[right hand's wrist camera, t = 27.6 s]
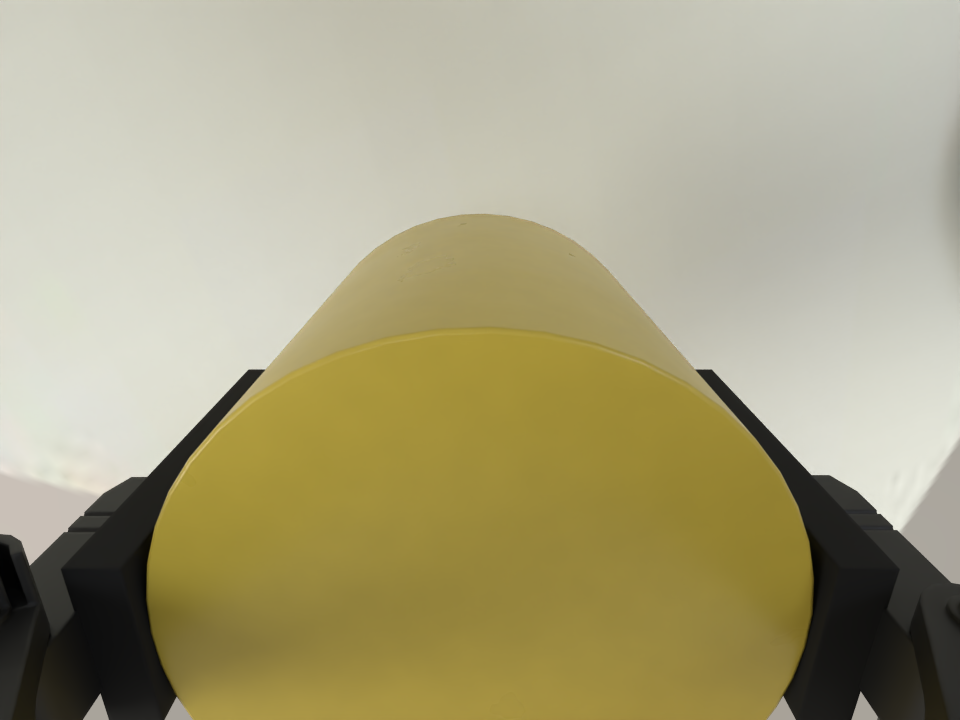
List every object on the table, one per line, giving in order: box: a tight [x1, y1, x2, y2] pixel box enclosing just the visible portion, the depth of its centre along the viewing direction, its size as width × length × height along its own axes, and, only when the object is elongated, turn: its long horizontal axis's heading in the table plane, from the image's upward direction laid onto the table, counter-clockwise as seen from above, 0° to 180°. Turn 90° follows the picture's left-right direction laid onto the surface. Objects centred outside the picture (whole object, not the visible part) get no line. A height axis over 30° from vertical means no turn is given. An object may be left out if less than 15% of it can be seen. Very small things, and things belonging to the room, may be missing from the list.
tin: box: [146, 214, 814, 720], centre depth 12 cm, size 9×9×9 cm
